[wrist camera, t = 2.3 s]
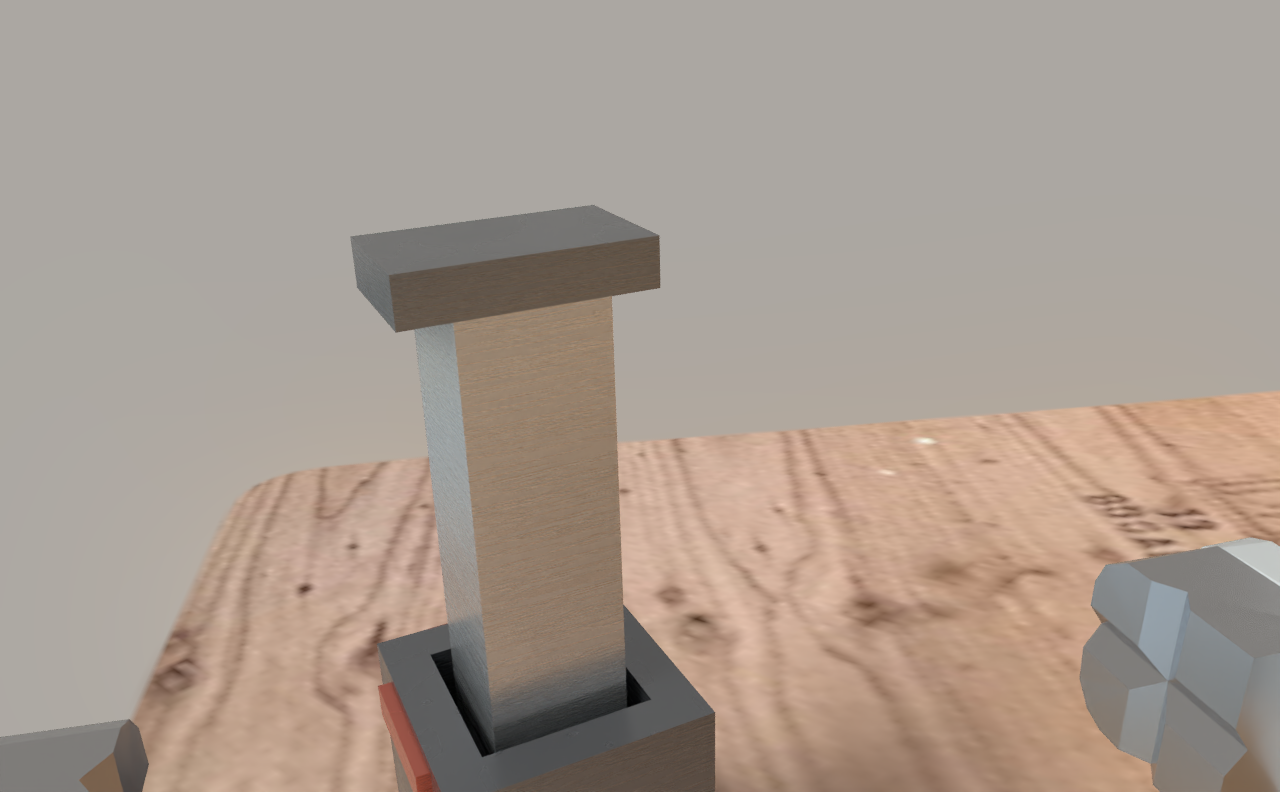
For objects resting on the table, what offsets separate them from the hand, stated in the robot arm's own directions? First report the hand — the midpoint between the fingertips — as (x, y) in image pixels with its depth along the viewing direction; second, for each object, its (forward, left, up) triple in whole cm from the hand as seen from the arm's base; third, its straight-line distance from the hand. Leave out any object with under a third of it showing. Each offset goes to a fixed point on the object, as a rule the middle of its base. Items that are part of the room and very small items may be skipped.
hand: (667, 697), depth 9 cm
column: (-3, -12, -19) cm, 23 cm away
